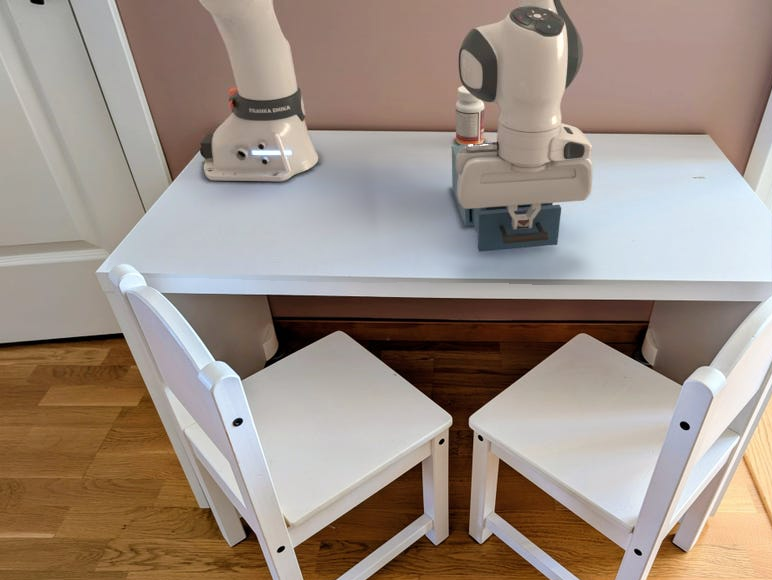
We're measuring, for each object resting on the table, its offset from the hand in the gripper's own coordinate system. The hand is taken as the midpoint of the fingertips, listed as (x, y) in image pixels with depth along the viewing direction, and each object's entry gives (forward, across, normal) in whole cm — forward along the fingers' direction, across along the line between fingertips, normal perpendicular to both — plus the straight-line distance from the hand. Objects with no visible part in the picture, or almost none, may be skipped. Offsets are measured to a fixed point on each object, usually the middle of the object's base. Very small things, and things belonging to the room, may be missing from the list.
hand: (521, 227), depth 96 cm
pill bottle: (+6, 0, +48) cm, 49 cm away
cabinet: (+6, 0, +20) cm, 20 cm away
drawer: (+5, 0, +7) cm, 9 cm away
